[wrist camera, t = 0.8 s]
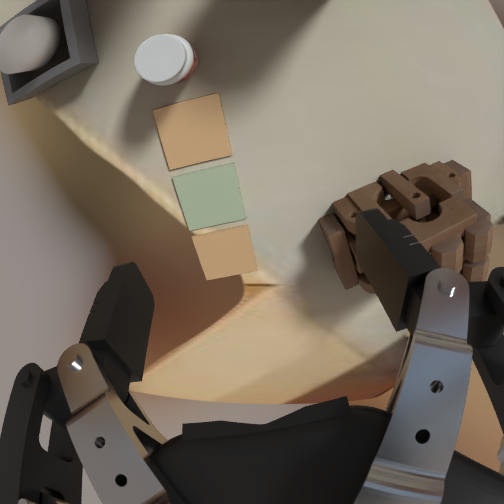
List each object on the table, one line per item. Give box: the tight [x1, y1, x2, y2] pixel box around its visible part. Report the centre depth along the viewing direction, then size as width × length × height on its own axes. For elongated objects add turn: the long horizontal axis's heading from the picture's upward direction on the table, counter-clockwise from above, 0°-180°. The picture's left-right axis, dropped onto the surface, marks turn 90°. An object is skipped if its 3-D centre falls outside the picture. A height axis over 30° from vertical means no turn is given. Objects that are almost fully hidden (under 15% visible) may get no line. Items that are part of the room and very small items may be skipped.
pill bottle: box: [134, 34, 198, 86], centre depth 21 cm, size 5×5×8 cm
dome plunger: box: [0, 15, 60, 74], centre depth 16 cm, size 6×6×6 cm
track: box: [153, 93, 257, 280], centre depth 33 cm, size 23×7×1 cm, turn 10°
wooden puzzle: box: [318, 160, 493, 293], centre depth 30 cm, size 22×15×19 cm, turn 115°
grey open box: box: [0, 0, 99, 105], centre depth 18 cm, size 10×10×4 cm
